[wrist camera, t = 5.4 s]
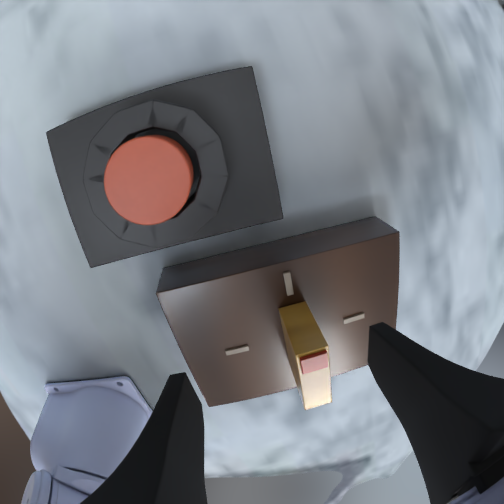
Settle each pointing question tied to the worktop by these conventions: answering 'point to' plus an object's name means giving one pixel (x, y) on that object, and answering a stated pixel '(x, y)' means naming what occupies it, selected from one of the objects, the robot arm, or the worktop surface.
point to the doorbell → (200, 152)
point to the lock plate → (280, 305)
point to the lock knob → (307, 354)
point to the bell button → (148, 179)
